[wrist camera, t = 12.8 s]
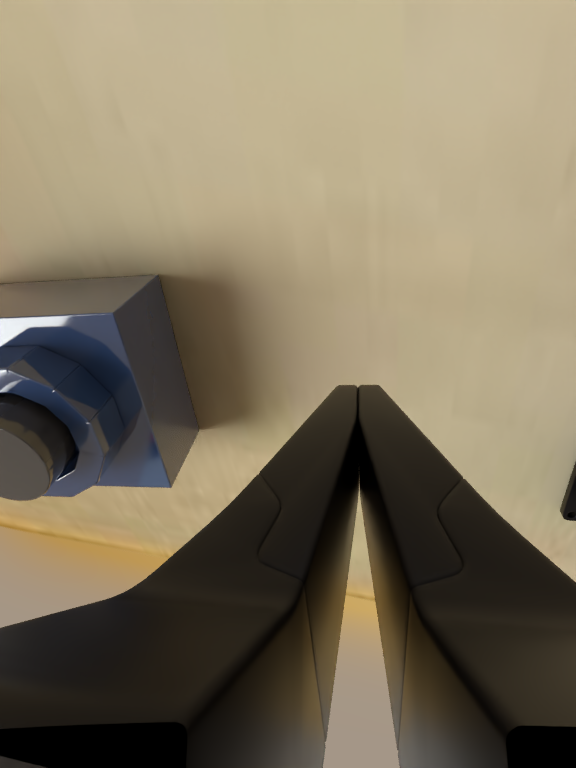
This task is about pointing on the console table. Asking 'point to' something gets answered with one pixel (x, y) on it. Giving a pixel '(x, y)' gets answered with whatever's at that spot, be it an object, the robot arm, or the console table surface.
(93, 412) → the blue stepped block
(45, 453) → the cylinder
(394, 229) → the console table surface
